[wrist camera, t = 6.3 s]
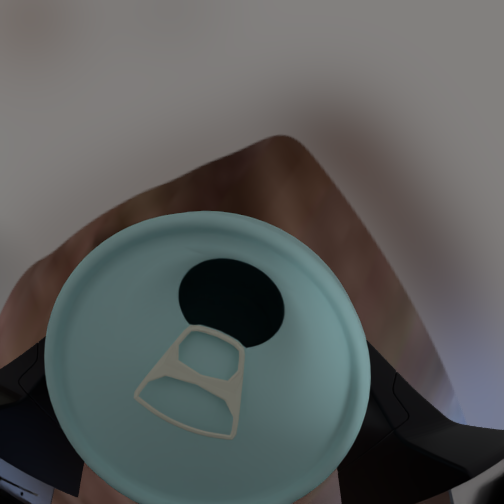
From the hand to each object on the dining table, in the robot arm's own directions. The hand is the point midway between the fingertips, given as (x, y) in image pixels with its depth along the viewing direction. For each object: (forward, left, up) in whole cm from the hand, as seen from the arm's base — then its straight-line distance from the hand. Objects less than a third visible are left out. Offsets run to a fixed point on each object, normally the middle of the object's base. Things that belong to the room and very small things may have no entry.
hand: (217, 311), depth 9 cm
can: (-1, 0, -7) cm, 7 cm away
